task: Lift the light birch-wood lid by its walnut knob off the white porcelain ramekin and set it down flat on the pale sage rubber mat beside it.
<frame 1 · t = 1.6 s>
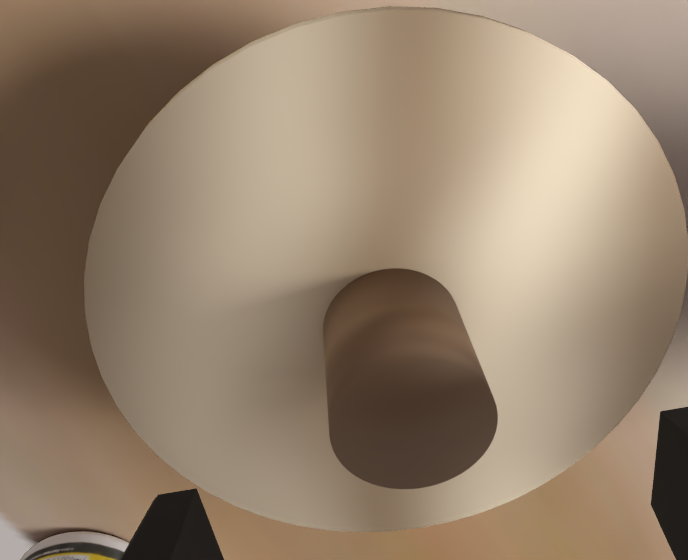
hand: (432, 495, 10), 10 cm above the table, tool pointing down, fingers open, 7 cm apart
lid: (388, 314, 15), point 5 cm above the table, touching ramekin
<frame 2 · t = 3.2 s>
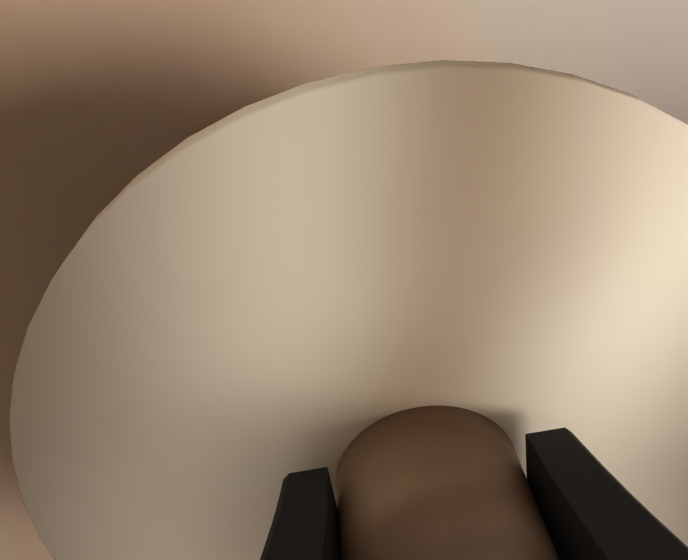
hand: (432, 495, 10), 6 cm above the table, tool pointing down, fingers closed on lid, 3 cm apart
lid: (420, 450, 11), point 5 cm above the table, touching gripper, ramekin
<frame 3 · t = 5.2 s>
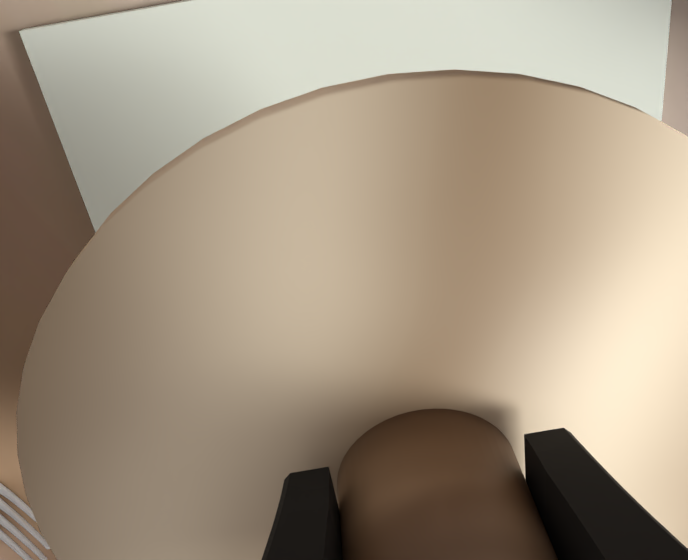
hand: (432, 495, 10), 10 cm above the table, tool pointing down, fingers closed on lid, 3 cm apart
lid: (421, 454, 11), point 9 cm above the table, touching gripper
mat: (373, 181, 19), on the table
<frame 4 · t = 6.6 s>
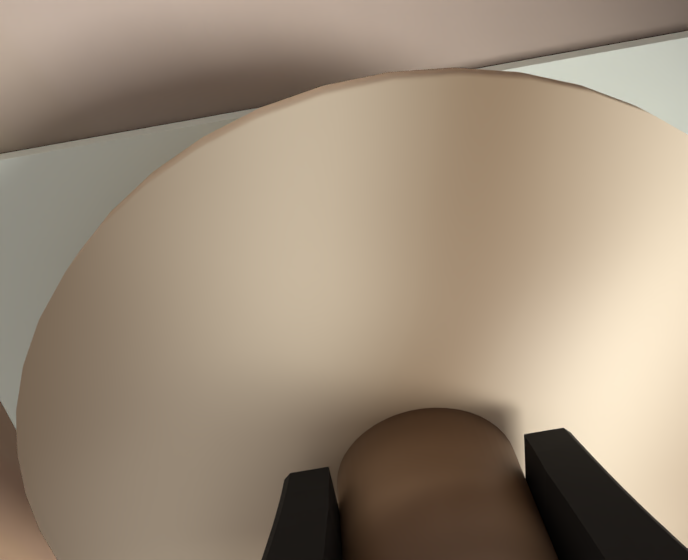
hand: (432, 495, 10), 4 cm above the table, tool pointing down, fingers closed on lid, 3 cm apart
lid: (421, 453, 11), point 3 cm above the table, touching gripper
mat: (400, 354, 14), on the table
when the fingers open (3 cm above the table, at t = 7.5 s): lid drops 2 cm, resting on mat.
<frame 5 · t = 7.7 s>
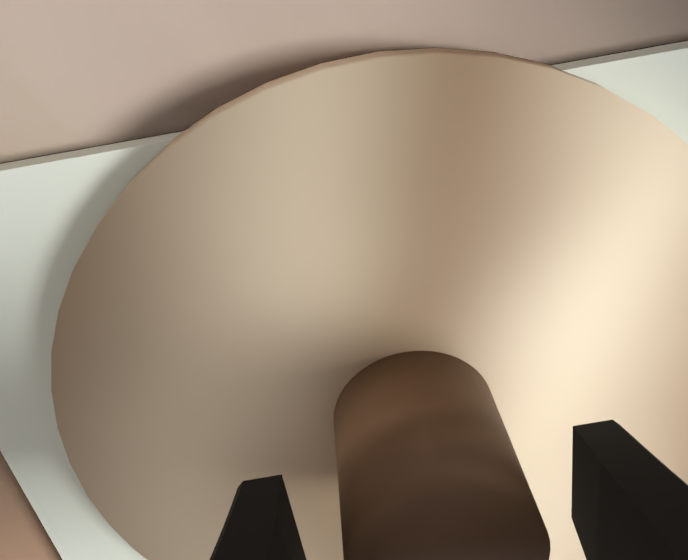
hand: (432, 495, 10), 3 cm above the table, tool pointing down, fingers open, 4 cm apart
lid: (408, 396, 13), resting on mat
mat: (404, 374, 13), on the table
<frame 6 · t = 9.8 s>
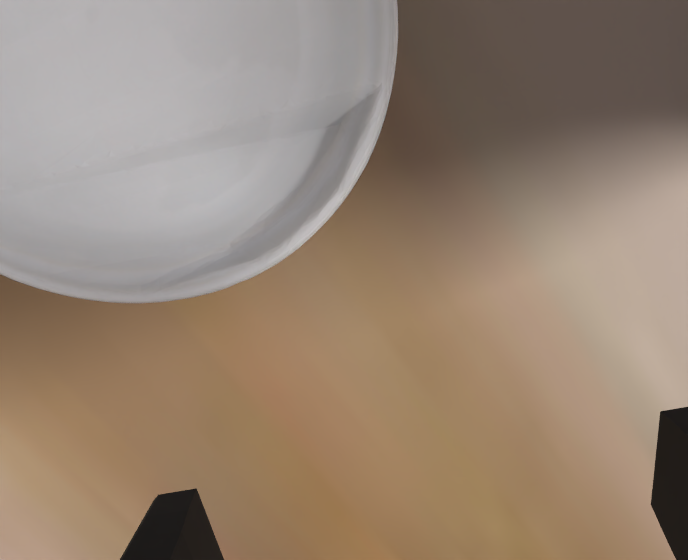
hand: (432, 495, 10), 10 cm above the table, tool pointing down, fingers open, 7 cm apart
ramekin: (152, 3, 17), on the table
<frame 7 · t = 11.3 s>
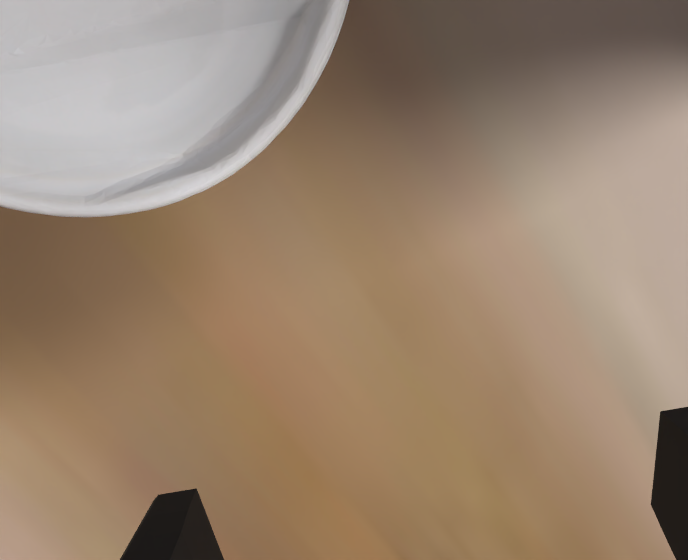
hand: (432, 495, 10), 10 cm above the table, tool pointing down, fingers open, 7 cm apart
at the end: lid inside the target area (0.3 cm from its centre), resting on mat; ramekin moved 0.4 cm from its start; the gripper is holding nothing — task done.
